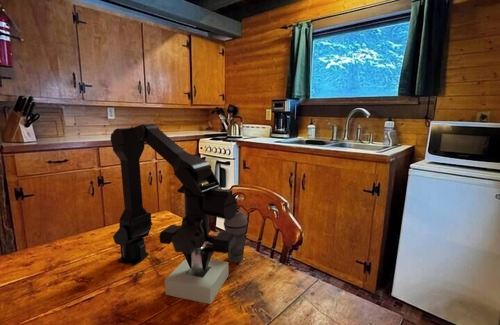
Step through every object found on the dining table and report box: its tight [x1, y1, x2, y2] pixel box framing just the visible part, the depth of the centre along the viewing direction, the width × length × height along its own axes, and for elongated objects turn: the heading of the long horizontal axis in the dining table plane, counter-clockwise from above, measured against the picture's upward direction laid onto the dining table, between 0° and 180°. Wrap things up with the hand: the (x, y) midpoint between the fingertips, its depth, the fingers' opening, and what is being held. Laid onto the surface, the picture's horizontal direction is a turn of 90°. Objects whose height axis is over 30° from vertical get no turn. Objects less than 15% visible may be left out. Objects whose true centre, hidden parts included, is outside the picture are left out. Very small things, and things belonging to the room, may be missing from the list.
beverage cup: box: [223, 209, 249, 263], centre depth 83 cm, size 7×7×20 cm
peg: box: [191, 244, 205, 278], centre depth 71 cm, size 4×4×8 cm
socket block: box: [164, 258, 229, 305], centre depth 71 cm, size 12×12×4 cm
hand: (198, 268), depth 71 cm, fingers closed on peg, 3 cm apart
